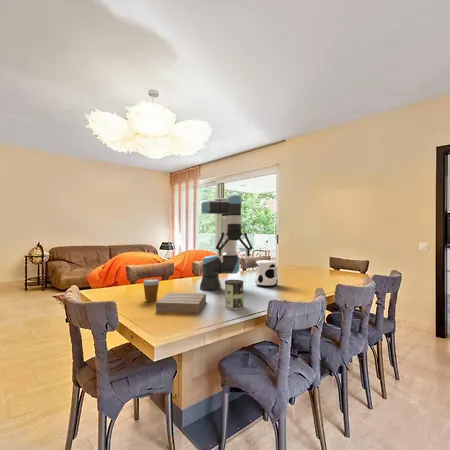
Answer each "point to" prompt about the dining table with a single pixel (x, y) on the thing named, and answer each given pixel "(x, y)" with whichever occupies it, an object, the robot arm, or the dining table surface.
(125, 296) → the dining table surface
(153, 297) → the disposable coffee cup
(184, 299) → the walnut plinth
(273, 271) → the milk container
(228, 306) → the coffee can
